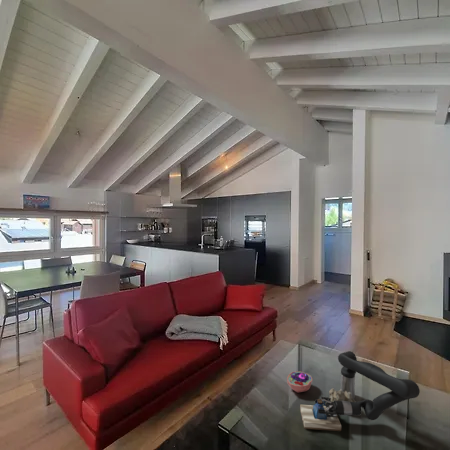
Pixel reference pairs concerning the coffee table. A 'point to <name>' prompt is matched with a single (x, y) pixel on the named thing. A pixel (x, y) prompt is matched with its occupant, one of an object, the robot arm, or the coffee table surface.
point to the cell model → (299, 381)
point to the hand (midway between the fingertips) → (316, 406)
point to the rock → (340, 396)
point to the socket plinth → (318, 420)
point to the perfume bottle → (315, 410)
